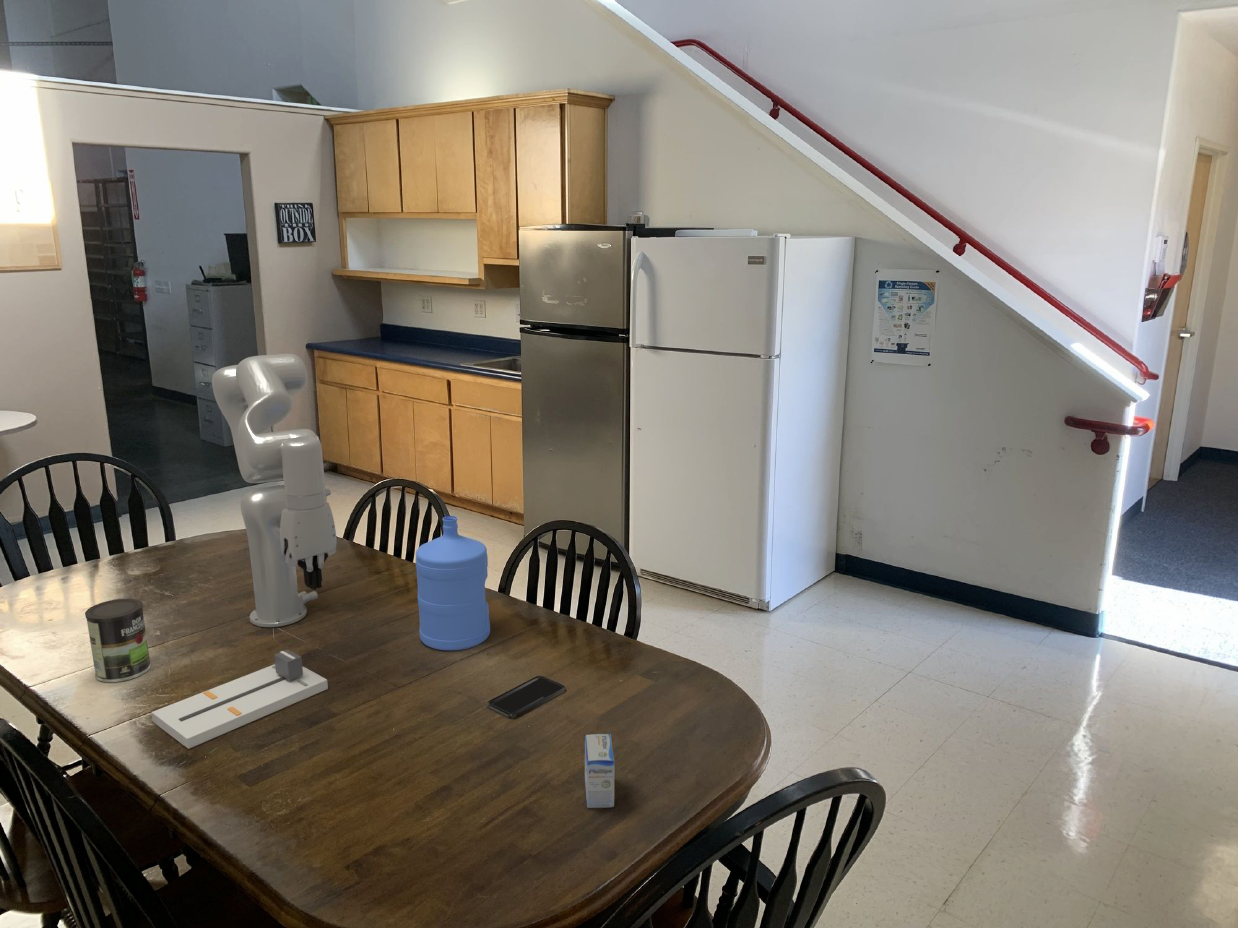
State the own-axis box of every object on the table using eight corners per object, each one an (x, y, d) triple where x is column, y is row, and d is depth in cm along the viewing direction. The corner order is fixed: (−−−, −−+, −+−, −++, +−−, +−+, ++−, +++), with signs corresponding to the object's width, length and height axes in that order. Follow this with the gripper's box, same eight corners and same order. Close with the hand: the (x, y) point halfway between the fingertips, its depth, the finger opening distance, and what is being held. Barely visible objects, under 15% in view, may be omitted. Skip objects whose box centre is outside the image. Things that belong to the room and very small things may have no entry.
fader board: (289, 667, 189) (288, 657, 188) (327, 688, 180) (327, 678, 180) (152, 721, 168) (151, 711, 168) (188, 748, 160) (186, 737, 159)
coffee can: (162, 661, 191) (153, 600, 188) (127, 685, 182) (117, 620, 178) (119, 657, 193) (110, 595, 190) (83, 680, 184) (72, 616, 180)
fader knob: (289, 667, 184) (287, 648, 183) (303, 674, 181) (301, 655, 180) (275, 672, 182) (273, 653, 180) (289, 680, 178) (287, 661, 177)
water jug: (458, 658, 193) (452, 534, 186) (405, 641, 201) (397, 521, 194) (504, 631, 206) (500, 514, 199) (452, 616, 214) (447, 503, 207)
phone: (484, 703, 174) (539, 674, 185) (484, 708, 174) (539, 679, 185) (512, 717, 169) (567, 686, 180) (512, 722, 169) (567, 691, 180)
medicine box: (584, 779, 151) (584, 733, 149) (611, 778, 151) (611, 732, 149) (586, 809, 143) (586, 761, 141) (614, 807, 144) (615, 759, 142)
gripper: (328, 488, 185) (335, 572, 190) (260, 505, 174) (269, 593, 179) (350, 495, 181) (356, 581, 185) (281, 512, 169) (290, 603, 174)
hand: (313, 587), depth 182 cm, fingers closed
